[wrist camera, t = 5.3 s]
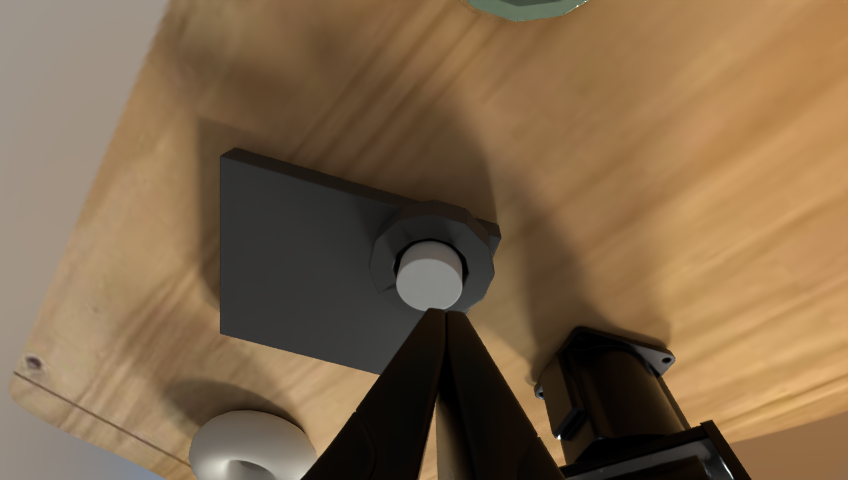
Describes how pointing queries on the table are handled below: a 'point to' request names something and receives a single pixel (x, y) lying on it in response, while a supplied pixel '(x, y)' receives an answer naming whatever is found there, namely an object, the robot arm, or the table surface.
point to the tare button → (430, 276)
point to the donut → (250, 448)
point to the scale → (331, 260)
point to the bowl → (521, 8)
